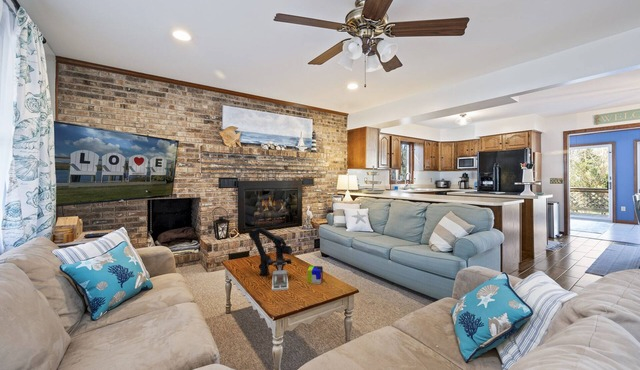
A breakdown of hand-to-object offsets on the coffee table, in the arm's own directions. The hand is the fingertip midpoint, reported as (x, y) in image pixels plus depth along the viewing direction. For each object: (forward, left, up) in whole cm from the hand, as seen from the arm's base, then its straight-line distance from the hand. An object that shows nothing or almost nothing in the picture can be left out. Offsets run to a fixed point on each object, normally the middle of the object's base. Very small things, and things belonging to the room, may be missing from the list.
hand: (279, 272), depth 218 cm
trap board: (+7, -11, -4) cm, 14 cm away
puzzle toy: (+30, +4, -4) cm, 31 cm away
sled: (+3, -5, -2) cm, 7 cm away
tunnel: (+9, -14, -2) cm, 16 cm away
